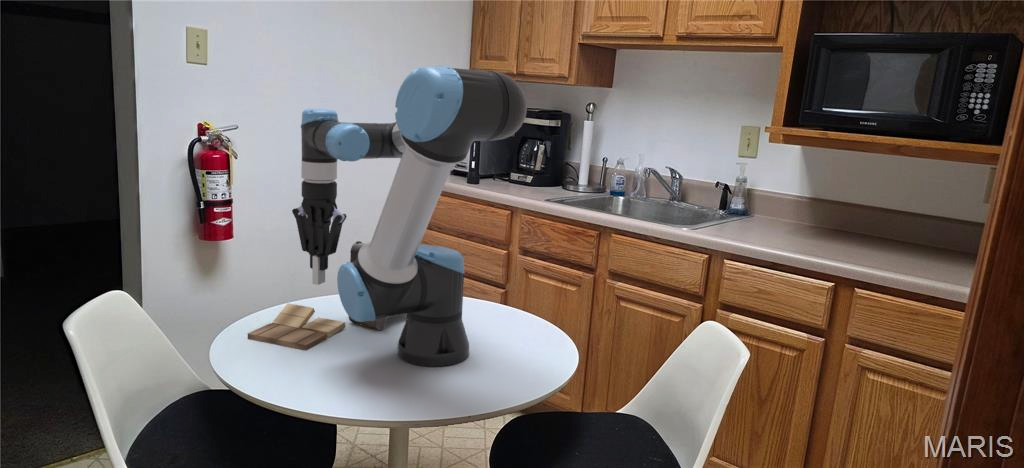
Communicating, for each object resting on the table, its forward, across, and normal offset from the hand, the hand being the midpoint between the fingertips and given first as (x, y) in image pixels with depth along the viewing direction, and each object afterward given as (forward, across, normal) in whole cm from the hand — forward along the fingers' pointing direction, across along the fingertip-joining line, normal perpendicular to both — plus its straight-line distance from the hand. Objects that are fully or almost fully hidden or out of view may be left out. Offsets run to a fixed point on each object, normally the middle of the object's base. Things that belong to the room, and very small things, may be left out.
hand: (318, 282), depth 152 cm
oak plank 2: (+10, -2, +1) cm, 11 cm away
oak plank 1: (+9, +5, +2) cm, 11 cm away
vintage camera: (+11, -10, -12) cm, 19 cm away
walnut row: (+11, +2, +9) cm, 14 cm away
